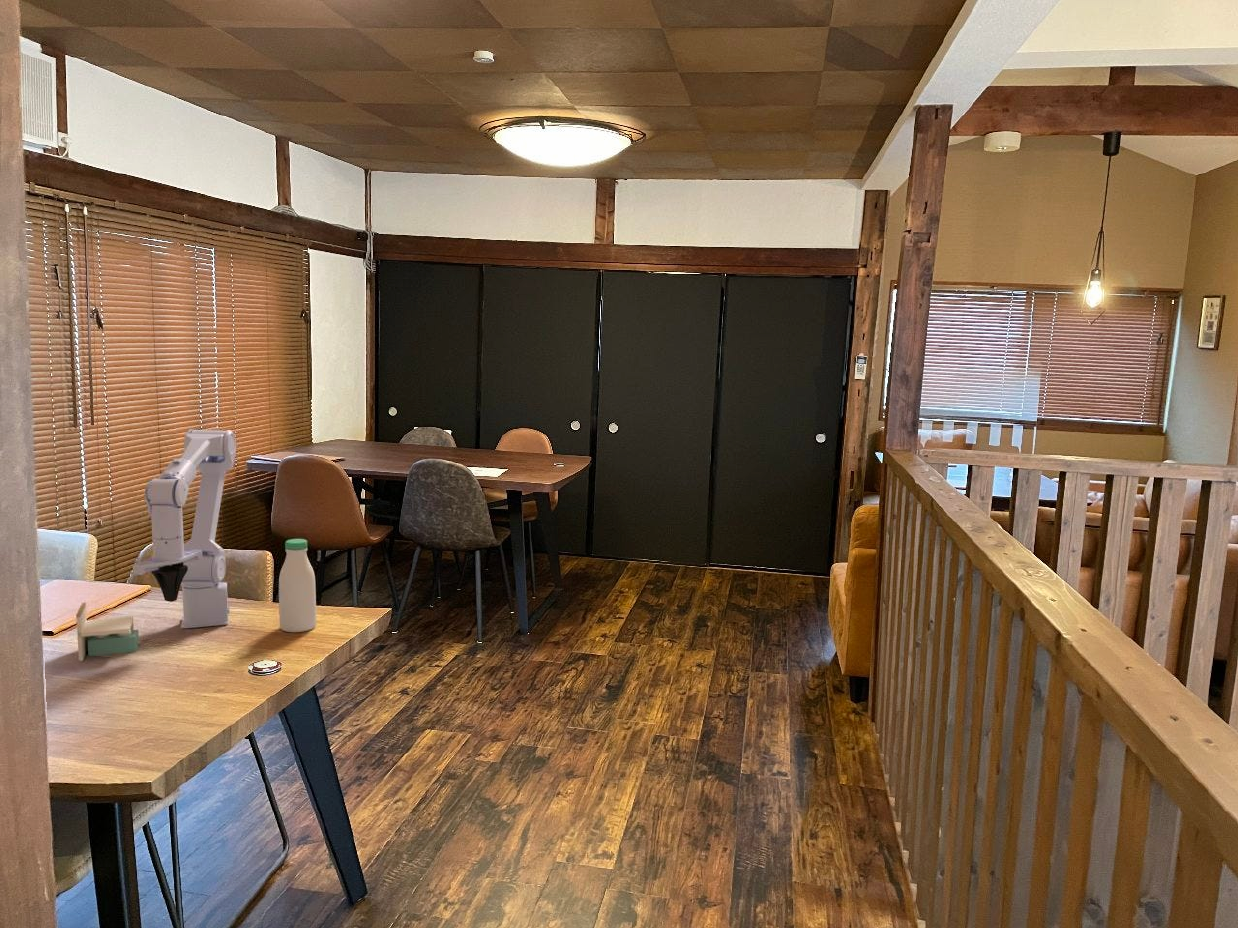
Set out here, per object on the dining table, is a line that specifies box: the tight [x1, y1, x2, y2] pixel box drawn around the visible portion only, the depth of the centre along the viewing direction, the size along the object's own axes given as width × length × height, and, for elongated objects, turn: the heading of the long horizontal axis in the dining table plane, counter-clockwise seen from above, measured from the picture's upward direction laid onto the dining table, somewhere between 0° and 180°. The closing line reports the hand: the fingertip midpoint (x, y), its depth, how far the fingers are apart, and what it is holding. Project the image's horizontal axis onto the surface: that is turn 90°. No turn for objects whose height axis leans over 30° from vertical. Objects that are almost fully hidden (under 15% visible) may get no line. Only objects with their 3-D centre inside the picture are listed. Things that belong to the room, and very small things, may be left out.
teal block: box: [87, 629, 140, 657], centre depth 185 cm, size 8×4×4 cm, turn 111°
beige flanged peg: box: [75, 602, 135, 662], centre depth 183 cm, size 9×8×10 cm
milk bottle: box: [278, 538, 317, 633], centre depth 200 cm, size 8×8×20 cm
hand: (170, 600), depth 187 cm, fingers closed
